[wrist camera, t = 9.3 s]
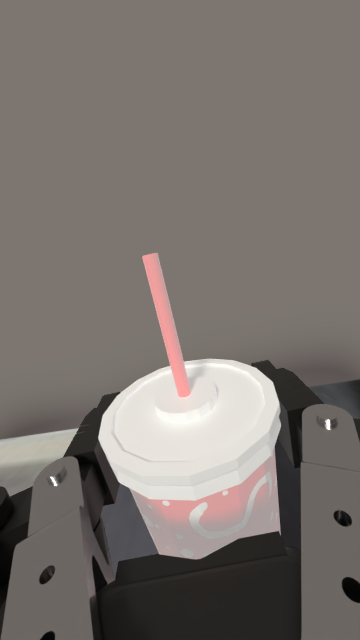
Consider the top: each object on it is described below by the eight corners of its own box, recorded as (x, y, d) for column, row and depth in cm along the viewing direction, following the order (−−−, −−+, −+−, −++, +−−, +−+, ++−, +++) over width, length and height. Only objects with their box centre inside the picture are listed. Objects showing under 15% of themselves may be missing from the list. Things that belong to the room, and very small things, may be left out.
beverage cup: (155, 700, 8) (-32, 292, 4) (166, 511, 14) (89, 270, 10) (342, 678, 8) (302, 213, 4) (272, 494, 14) (230, 237, 10)
